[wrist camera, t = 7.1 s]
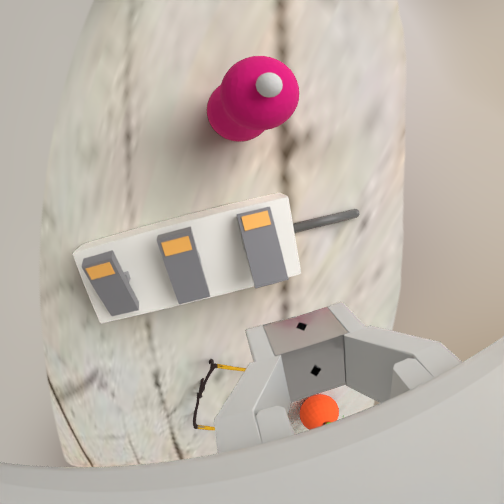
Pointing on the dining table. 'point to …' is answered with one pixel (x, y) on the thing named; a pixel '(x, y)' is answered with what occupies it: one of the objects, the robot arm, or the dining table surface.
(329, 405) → the clementine
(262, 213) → the rocker
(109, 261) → the block
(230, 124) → the pepper mill
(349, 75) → the dining table surface
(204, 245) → the power strip
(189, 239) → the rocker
